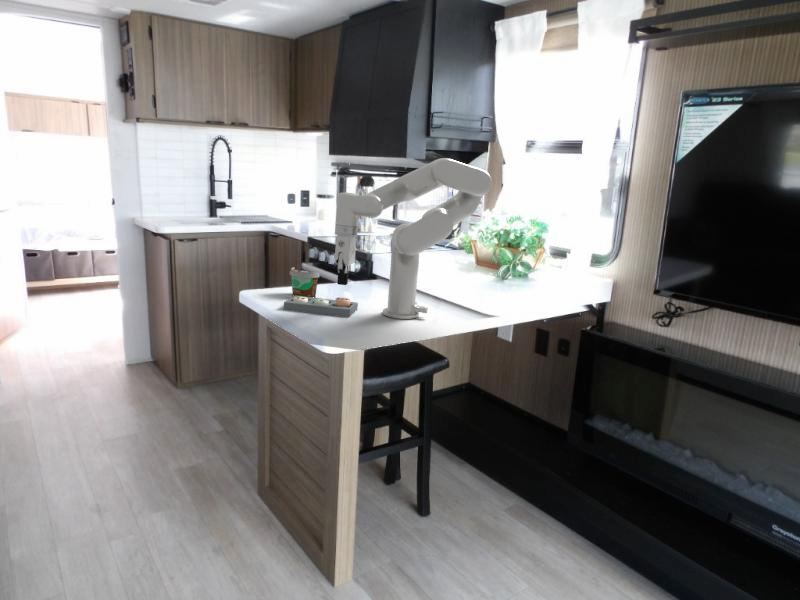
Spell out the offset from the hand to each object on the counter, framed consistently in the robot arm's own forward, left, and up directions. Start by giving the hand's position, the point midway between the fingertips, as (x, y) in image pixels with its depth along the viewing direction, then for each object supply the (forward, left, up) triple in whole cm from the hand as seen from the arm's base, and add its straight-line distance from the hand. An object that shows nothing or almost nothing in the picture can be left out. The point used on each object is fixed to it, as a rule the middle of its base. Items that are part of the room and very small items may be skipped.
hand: (342, 284), depth 191 cm
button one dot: (+7, 0, -10) cm, 12 cm away
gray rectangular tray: (+7, 0, -10) cm, 12 cm away
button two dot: (+15, 0, -10) cm, 17 cm away
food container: (+20, -16, -10) cm, 27 cm away
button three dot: (0, 0, -8) cm, 8 cm away
